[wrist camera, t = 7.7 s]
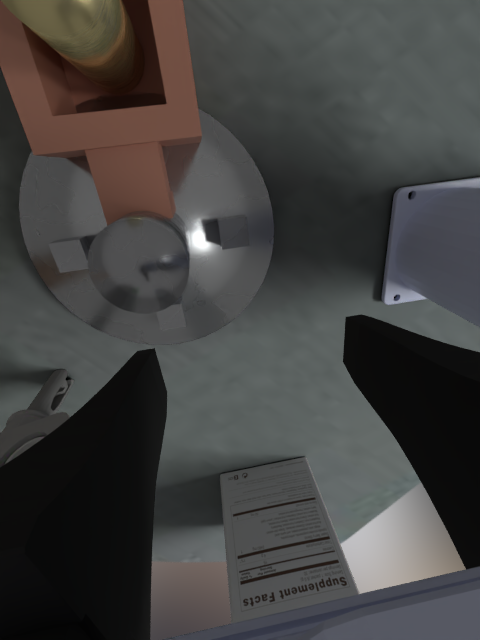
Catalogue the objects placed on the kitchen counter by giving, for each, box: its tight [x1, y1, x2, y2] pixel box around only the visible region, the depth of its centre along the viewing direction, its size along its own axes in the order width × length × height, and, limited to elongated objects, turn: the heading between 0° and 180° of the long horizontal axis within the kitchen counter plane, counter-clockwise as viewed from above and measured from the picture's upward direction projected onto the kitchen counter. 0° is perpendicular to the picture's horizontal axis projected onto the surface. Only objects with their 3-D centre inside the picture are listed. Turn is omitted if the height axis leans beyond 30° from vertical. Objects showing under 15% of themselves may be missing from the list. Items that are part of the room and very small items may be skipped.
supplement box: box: [220, 457, 359, 623], centre depth 25 cm, size 9×9×15 cm
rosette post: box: [19, 91, 274, 345], centre depth 15 cm, size 14×14×7 cm
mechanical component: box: [0, 369, 74, 467], centre depth 17 cm, size 3×10×10 cm, turn 108°
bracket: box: [0, 0, 202, 226], centre depth 13 cm, size 7×10×4 cm
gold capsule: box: [1, 0, 145, 95], centre depth 10 cm, size 3×3×7 cm
